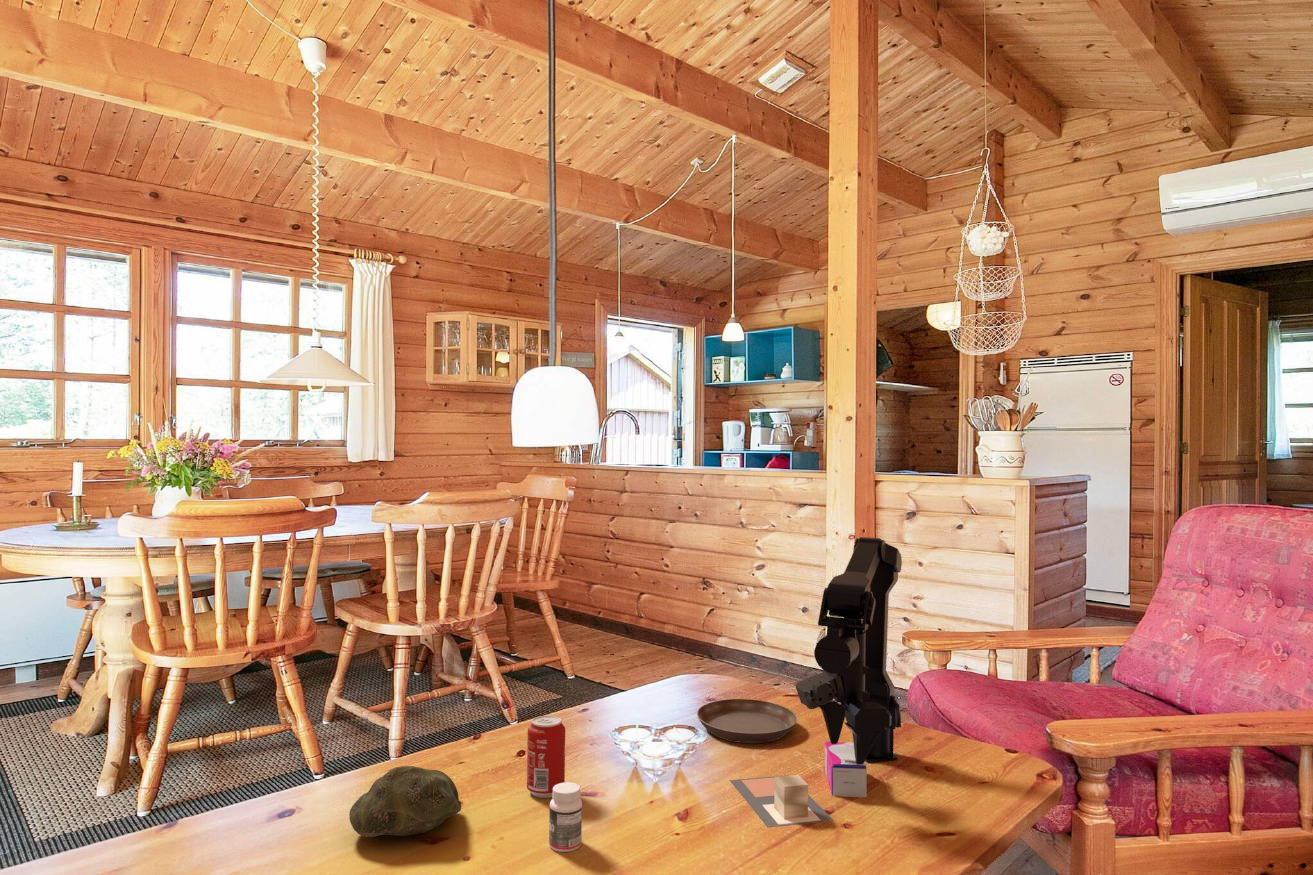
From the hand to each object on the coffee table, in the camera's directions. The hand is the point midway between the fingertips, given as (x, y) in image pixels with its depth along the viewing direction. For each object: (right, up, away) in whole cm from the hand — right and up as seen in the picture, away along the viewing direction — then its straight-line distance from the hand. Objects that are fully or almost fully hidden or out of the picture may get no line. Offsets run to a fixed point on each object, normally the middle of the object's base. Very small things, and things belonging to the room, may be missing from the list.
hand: (846, 753), depth 135 cm
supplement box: (+1, -5, +1) cm, 5 cm away
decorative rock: (-69, -7, -12) cm, 70 cm away
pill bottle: (-45, -7, -16) cm, 48 cm away
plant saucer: (-13, -9, +35) cm, 38 cm away
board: (-11, -8, -1) cm, 14 cm away
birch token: (-10, -7, -6) cm, 14 cm away
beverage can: (-50, -8, +2) cm, 51 cm away
